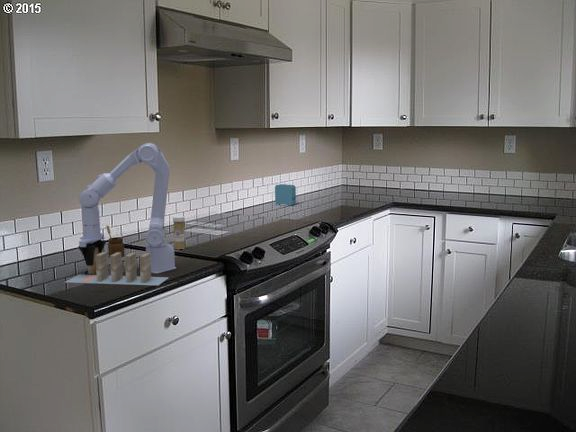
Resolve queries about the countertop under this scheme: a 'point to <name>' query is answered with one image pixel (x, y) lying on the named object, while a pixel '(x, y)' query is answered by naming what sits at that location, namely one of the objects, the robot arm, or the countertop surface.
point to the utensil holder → (115, 244)
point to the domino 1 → (93, 263)
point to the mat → (108, 281)
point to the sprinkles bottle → (179, 232)
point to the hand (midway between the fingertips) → (93, 263)
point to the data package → (285, 194)
